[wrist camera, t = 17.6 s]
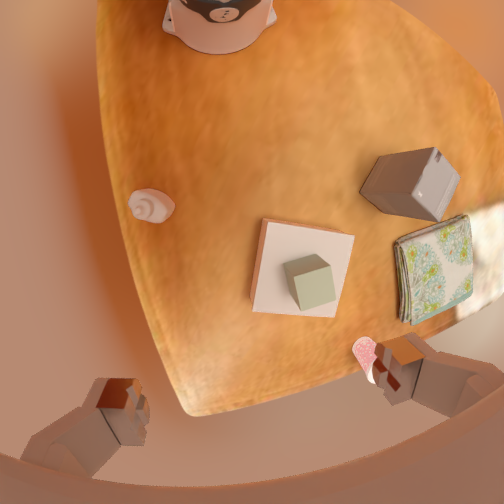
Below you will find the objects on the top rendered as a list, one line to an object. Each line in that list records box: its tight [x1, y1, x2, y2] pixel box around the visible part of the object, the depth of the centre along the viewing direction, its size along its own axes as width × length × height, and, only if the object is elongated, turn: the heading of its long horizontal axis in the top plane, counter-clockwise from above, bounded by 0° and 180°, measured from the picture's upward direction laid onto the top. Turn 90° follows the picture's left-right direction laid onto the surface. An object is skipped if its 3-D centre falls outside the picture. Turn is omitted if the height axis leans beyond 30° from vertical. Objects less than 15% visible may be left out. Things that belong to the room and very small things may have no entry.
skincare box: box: [360, 147, 461, 222], centre depth 38 cm, size 8×7×16 cm
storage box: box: [250, 218, 355, 317], centre depth 45 cm, size 13×13×6 cm
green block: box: [283, 254, 336, 312], centre depth 39 cm, size 5×5×6 cm
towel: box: [394, 215, 473, 326], centre depth 50 cm, size 18×21×5 cm
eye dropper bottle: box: [128, 188, 175, 223], centre depth 37 cm, size 4×6×12 cm
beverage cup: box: [352, 337, 377, 384], centre depth 47 cm, size 6×6×14 cm
